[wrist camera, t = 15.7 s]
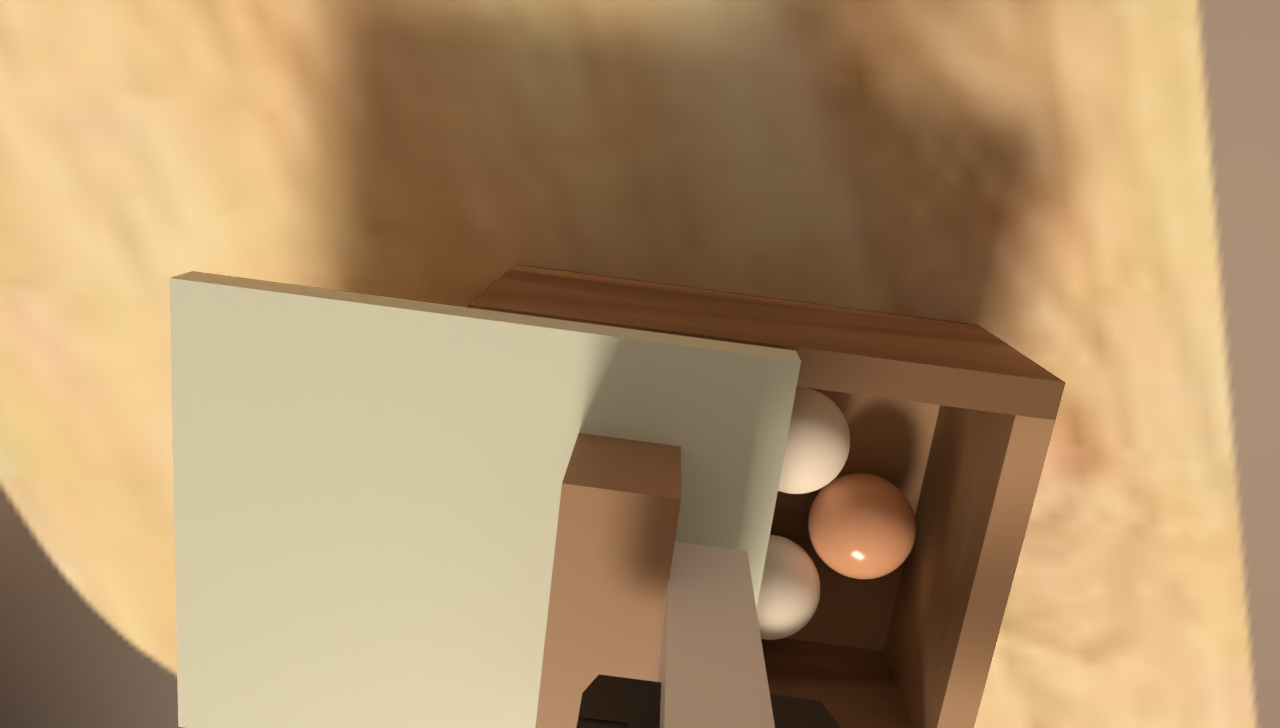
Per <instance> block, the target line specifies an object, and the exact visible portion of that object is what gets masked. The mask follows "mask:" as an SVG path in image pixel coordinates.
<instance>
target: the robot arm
mask: <svg viewBox="0 0 1280 728" xmlns="http://www.w3.org/2000/svg"><path fill="white" fill-rule="evenodd" d="M576 728H840V726H839V724H838V722H837V721H836V720H835V719H834V717H833V716H832V715H831V714H830V712H829V711H828V710H827V709H826V707H825V706H824V705H823V704H822V702H821V701H819V700H812V699H804V698H796V697H788V696H781V695H773V694H770V693H769V686H768V680H767V674H766V667H765V661H764V654H763V648H762V642H761V635H760V629H759V623H758V616H757V610H756V604H755V597H754V591H753V585H752V578H751V572H750V566H749V559H748V553H747V551H742V550H734V549H726V548H718V547H711V546H703V545H695V544H687V543H679V542H675V544H674V551H673V558H672V564H671V571H670V578H669V582H668V587H667V594H666V601H665V609H664V616H663V623H662V630H661V637H660V644H659V651H658V658H657V665H656V672H655V679H654V681H647V680H639V679H631V678H623V677H616V676H608V675H600V674H599V675H598V676H597V677H596V678H595V679H594V680H593V682H592V683H591V684H590V685H589V686H588V687H587V688H586V690H585V691H584V692H583V693H582V698H581V704H580V710H579V716H578V721H577V727H576Z"/></svg>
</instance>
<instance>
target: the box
mask: <svg viewBox="0 0 1280 728" xmlns="http://www.w3.org/2000/svg"><path fill="white" fill-rule="evenodd" d="M469 308H476V309H483V310H491V311H498V312H506V313H514V314H521V315H529V316H536V317H544V318H552V319H559V320H567V321H574V322H582V323H590V324H597V325H605V326H612V327H620V328H628V329H635V330H643V331H650V332H658V333H666V334H673V335H681V336H688V337H696V338H704V339H711V340H719V341H726V342H734V343H742V344H749V345H757V346H764V347H772V348H780V349H787V350H795V351H796V352H797V354H798V356H799V358H800V360H801V365H800V371H799V376H798V382H797V386H798V387H806V388H810V389H813V390H816V391H818V392H820V393H822V394H824V395H825V396H827V397H828V398H830V399H831V400H832V401H833V402H834V403H835V404H836V405H837V407H838V408H839V409H840V410H841V412H842V413H843V415H844V417H845V419H846V422H847V425H848V428H849V433H850V449H849V454H848V458H847V460H846V462H845V465H844V467H843V468H842V470H841V471H840V473H839V474H838V475H837V476H836V477H835V478H834V479H836V478H838V477H840V476H843V475H847V474H852V473H867V474H873V475H876V476H879V477H882V478H884V479H886V480H888V481H889V482H891V483H892V484H894V485H895V486H896V487H897V488H899V489H900V491H901V492H902V493H903V494H904V495H905V496H906V498H907V499H908V501H909V503H910V505H911V507H912V509H913V512H914V516H915V522H916V535H915V541H914V544H913V547H912V550H911V552H910V554H909V555H908V557H907V558H906V560H905V561H904V562H903V563H902V564H901V565H900V566H899V567H898V568H897V569H895V570H894V571H892V572H891V573H889V574H887V575H884V576H882V577H878V578H874V579H856V578H851V577H847V576H844V575H842V574H840V573H838V572H836V571H835V570H833V569H832V568H830V567H829V566H828V565H827V564H825V562H824V561H823V560H822V559H821V558H820V557H819V555H818V554H817V552H816V551H815V549H814V547H813V545H812V542H811V539H810V535H809V529H808V519H809V512H810V508H811V506H812V503H813V501H814V499H815V498H816V496H817V494H818V493H819V492H820V490H821V489H822V488H823V487H822V488H820V489H818V490H816V491H812V492H809V493H803V494H789V493H784V492H781V491H778V493H777V498H776V504H775V509H774V515H773V520H772V526H771V532H770V535H777V536H781V537H784V538H787V539H789V540H791V541H793V542H794V543H796V544H798V545H799V546H800V547H801V548H803V549H804V550H805V552H806V553H807V554H808V555H809V556H810V558H811V559H812V561H813V563H814V565H815V567H816V569H817V572H818V575H819V580H820V599H819V603H818V606H817V609H816V611H815V613H814V615H813V617H812V618H811V620H810V621H809V622H808V623H807V624H806V625H805V626H804V627H803V628H802V629H801V630H800V631H798V632H797V633H795V634H793V635H791V636H788V637H785V638H782V639H776V640H766V639H761V642H762V648H763V654H764V661H765V667H766V674H767V680H768V686H769V693H770V694H773V695H781V696H788V697H796V698H804V699H812V700H819V701H821V702H822V704H823V705H824V706H825V707H826V709H827V710H828V711H829V712H830V714H831V715H832V716H833V717H834V719H835V720H836V721H837V722H838V724H839V726H840V728H974V725H975V721H976V717H977V713H978V710H979V706H980V702H981V698H982V694H983V691H984V687H985V683H986V679H987V676H988V672H989V668H990V664H991V661H992V657H993V653H994V649H995V646H996V642H997V638H998V634H999V630H1000V627H1001V623H1002V619H1003V615H1004V612H1005V608H1006V604H1007V600H1008V597H1009V593H1010V589H1011V585H1012V581H1013V578H1014V574H1015V570H1016V566H1017V563H1018V559H1019V555H1020V551H1021V548H1022V544H1023V540H1024V536H1025V532H1026V529H1027V525H1028V521H1029V517H1030V514H1031V510H1032V506H1033V502H1034V499H1035V495H1036V491H1037V487H1038V483H1039V480H1040V476H1041V472H1042V468H1043V465H1044V461H1045V457H1046V453H1047V450H1048V446H1049V442H1050V438H1051V435H1052V431H1053V427H1054V423H1055V419H1056V416H1057V412H1058V408H1059V404H1060V401H1061V397H1062V393H1063V389H1064V386H1065V382H1064V381H1062V380H1061V379H1059V378H1057V377H1056V376H1054V375H1053V374H1051V373H1050V372H1048V371H1047V370H1045V369H1044V368H1042V367H1041V366H1039V365H1038V364H1036V363H1035V362H1033V361H1032V360H1030V359H1029V358H1027V357H1026V356H1024V355H1023V354H1021V353H1020V352H1018V351H1017V350H1015V349H1014V348H1012V347H1011V346H1009V345H1008V344H1006V343H1005V342H1003V341H1002V340H1000V339H999V338H997V337H995V336H994V335H992V334H991V333H989V332H988V331H986V330H985V329H983V328H982V327H980V326H978V325H971V324H963V323H956V322H948V321H940V320H933V319H925V318H917V317H910V316H902V315H895V314H887V313H879V312H872V311H864V310H856V309H849V308H841V307H834V306H826V305H818V304H811V303H803V302H795V301H788V300H780V299H772V298H765V297H757V296H750V295H742V294H734V293H727V292H719V291H711V290H704V289H696V288H689V287H681V286H673V285H666V284H658V283H650V282H643V281H635V280H627V279H620V278H612V277H605V276H597V275H589V274H582V273H574V272H566V271H559V270H551V269H544V268H536V267H528V266H521V265H515V266H514V267H513V268H511V269H510V270H509V271H508V272H507V273H505V274H504V275H503V276H502V277H501V278H499V279H498V280H497V281H496V282H495V283H493V284H492V285H491V286H490V287H489V288H487V289H486V290H485V291H484V292H483V293H482V294H480V295H479V296H478V297H477V298H476V299H474V300H473V301H472V302H471V303H470V304H469ZM834 479H833V480H834Z"/></svg>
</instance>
